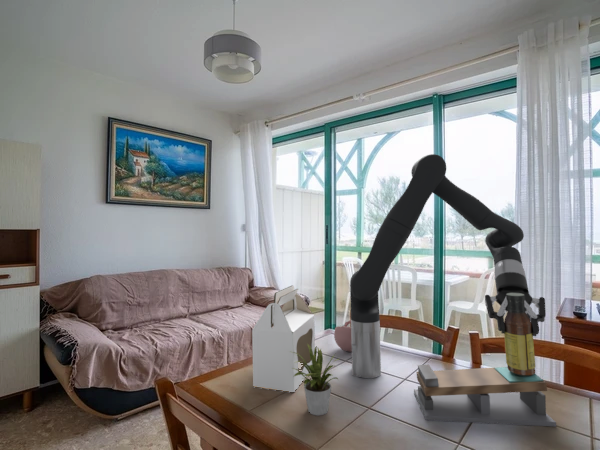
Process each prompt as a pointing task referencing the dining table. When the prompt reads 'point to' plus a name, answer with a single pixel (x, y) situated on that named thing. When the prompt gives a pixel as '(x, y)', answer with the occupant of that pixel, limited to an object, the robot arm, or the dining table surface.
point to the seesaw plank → (476, 381)
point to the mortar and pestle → (343, 337)
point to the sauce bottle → (518, 337)
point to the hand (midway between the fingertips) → (518, 333)
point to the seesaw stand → (487, 408)
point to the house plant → (316, 384)
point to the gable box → (283, 342)
